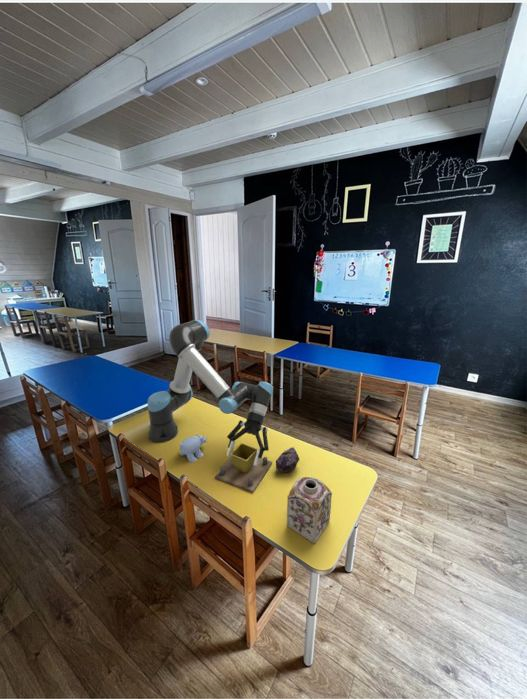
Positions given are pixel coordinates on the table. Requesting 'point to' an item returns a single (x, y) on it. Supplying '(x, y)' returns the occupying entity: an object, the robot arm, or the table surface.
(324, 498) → the decorative jar
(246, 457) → the flower pot
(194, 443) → the hippopotamus toy
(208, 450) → the table surface
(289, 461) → the rock
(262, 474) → the standoff plate
